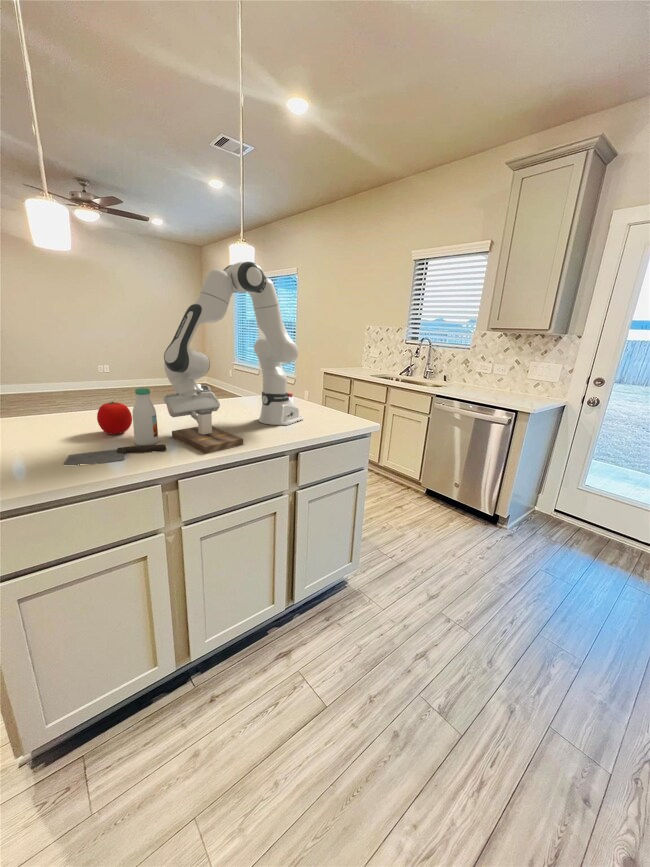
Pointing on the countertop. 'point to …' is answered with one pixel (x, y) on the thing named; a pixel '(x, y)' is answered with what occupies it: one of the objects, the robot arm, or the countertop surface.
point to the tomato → (114, 418)
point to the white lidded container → (204, 422)
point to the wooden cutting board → (207, 439)
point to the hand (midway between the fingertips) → (202, 421)
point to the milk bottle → (144, 419)
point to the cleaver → (110, 454)
